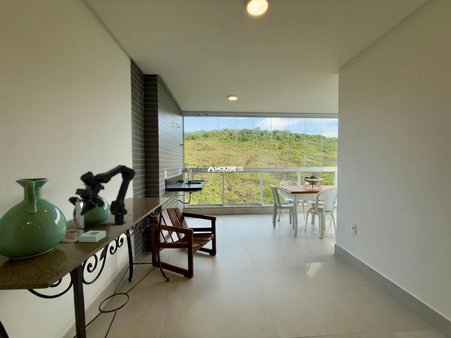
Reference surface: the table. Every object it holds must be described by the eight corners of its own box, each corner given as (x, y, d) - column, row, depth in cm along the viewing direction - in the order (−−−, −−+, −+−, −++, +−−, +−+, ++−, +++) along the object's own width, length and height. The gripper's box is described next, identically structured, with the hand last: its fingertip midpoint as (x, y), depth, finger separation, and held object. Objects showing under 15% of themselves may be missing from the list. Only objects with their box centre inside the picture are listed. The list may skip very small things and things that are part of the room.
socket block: (90, 236, 123) (90, 230, 123) (105, 236, 123) (105, 230, 123) (78, 241, 114) (78, 236, 114) (96, 242, 114) (95, 236, 114)
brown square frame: (69, 236, 122) (69, 229, 122) (83, 236, 122) (83, 229, 122) (58, 242, 114) (58, 234, 114) (73, 242, 114) (73, 234, 114)
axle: (79, 226, 120) (78, 201, 120) (85, 226, 120) (85, 201, 119) (74, 228, 117) (73, 202, 116) (81, 228, 116) (80, 202, 116)
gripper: (70, 182, 123) (52, 206, 113) (99, 182, 119) (83, 207, 109) (82, 194, 131) (66, 217, 121) (110, 195, 127) (96, 219, 117)
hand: (77, 215), depth 117 cm, fingers closed on axle, 4 cm apart
